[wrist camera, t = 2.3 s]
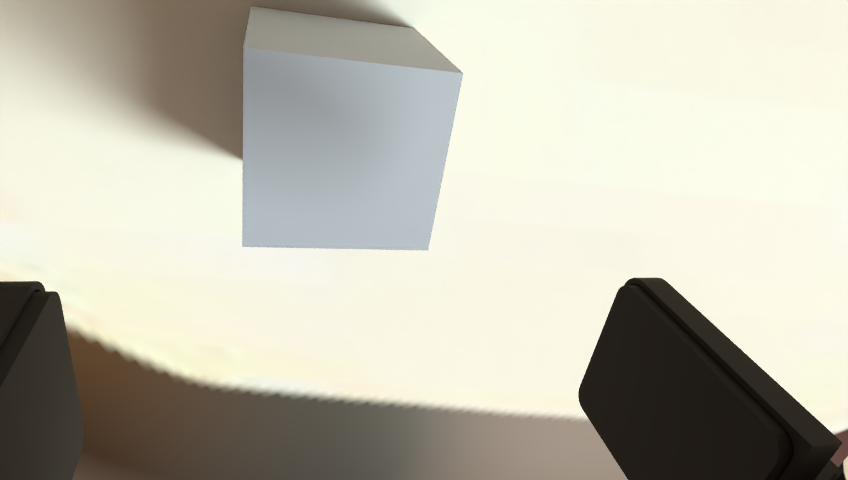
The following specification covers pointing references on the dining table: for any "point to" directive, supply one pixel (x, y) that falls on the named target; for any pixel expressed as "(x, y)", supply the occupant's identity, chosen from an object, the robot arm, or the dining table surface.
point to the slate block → (342, 132)
